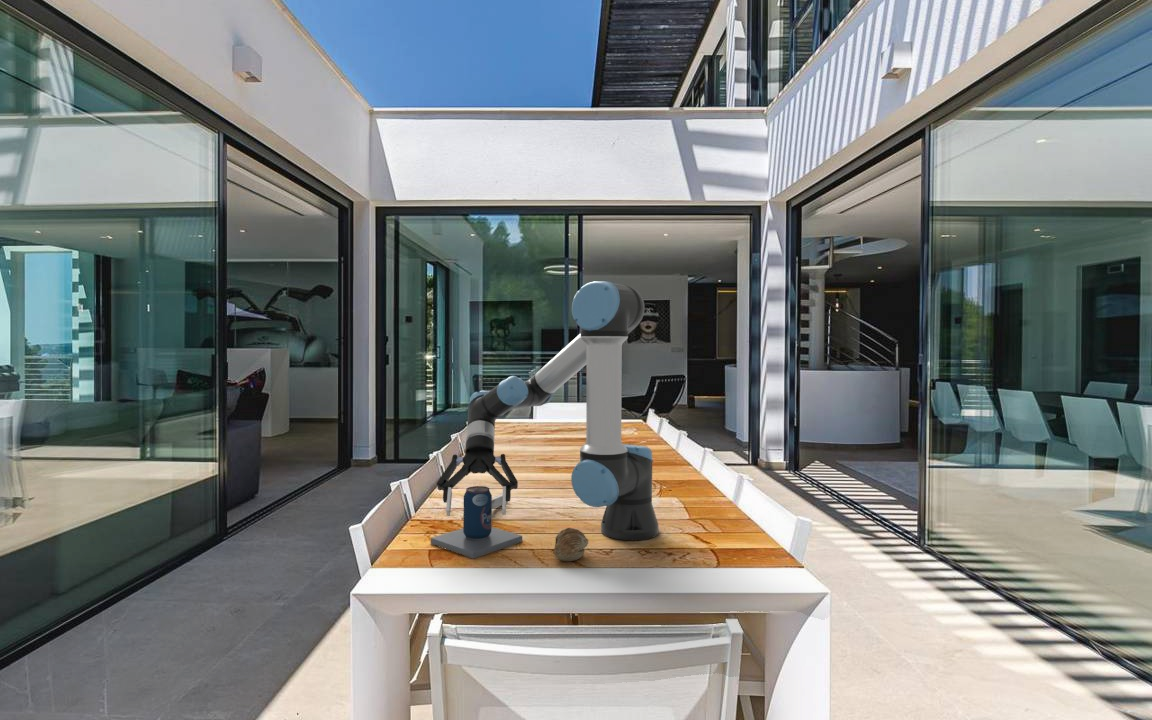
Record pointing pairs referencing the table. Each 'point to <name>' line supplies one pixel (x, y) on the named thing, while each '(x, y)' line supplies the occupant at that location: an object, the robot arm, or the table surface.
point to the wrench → (497, 501)
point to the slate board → (476, 542)
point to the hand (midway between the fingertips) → (476, 512)
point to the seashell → (570, 544)
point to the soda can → (477, 513)
